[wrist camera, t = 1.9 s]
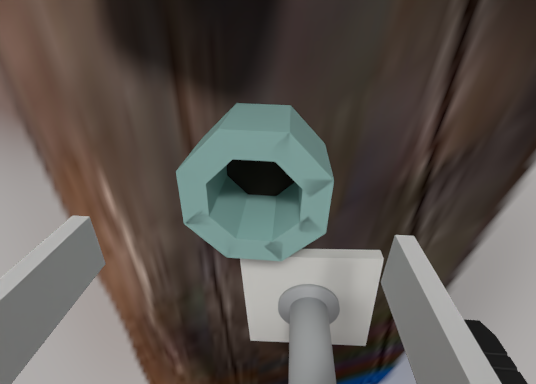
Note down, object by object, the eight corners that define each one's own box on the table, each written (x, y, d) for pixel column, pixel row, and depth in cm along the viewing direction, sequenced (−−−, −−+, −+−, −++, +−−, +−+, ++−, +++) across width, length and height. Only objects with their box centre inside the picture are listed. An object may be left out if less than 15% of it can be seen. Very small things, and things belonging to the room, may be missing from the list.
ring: (264, 75, 17) (253, 93, 12) (346, 168, 19) (361, 210, 15) (181, 159, 20) (150, 197, 16) (261, 229, 23) (253, 278, 18)
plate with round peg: (241, 247, 24) (211, 376, 15) (380, 249, 23) (433, 389, 14) (251, 331, 29) (233, 460, 21) (363, 335, 28) (393, 473, 20)
